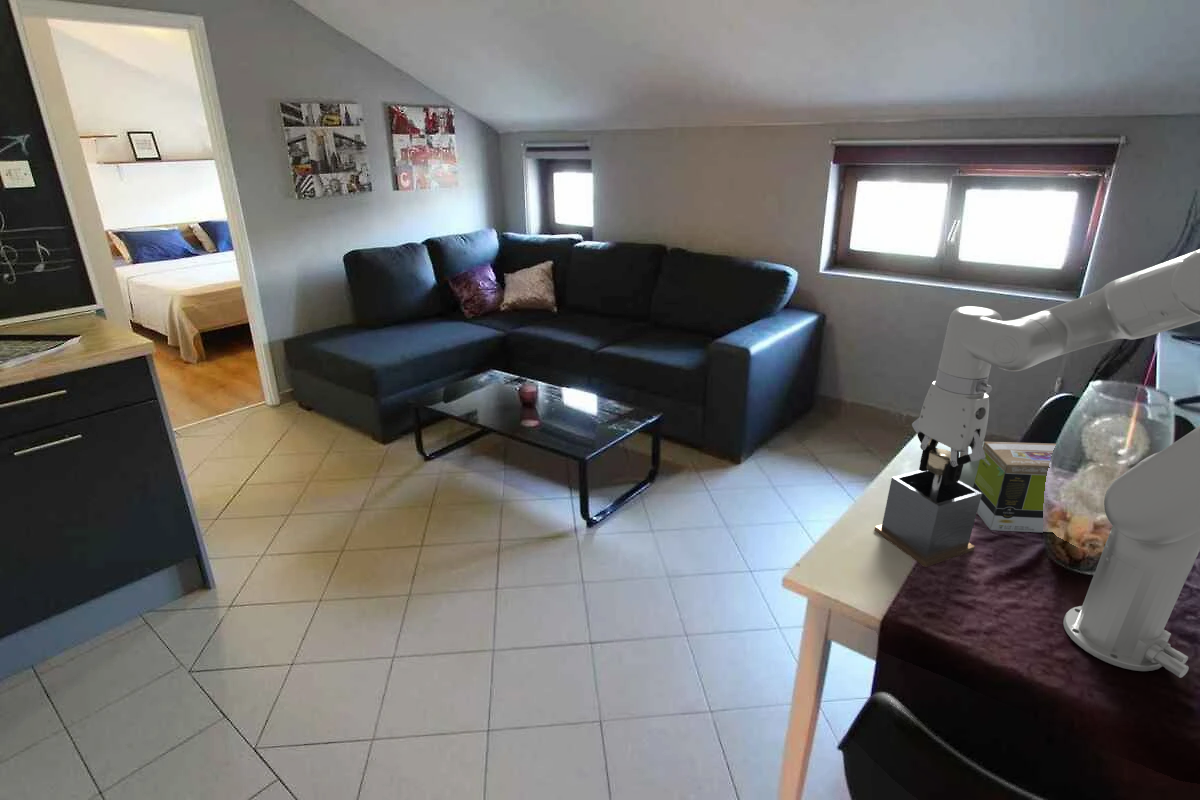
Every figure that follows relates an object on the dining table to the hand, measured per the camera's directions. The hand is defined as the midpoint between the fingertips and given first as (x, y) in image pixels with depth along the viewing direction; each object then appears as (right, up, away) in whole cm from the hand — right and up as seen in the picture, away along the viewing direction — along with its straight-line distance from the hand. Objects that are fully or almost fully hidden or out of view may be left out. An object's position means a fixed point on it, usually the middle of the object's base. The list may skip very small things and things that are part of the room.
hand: (938, 475), depth 116 cm
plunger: (0, -12, +5) cm, 13 cm away
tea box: (+22, -10, +12) cm, 27 cm away
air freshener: (+20, -6, +23) cm, 31 cm away
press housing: (0, -13, +6) cm, 14 cm away
